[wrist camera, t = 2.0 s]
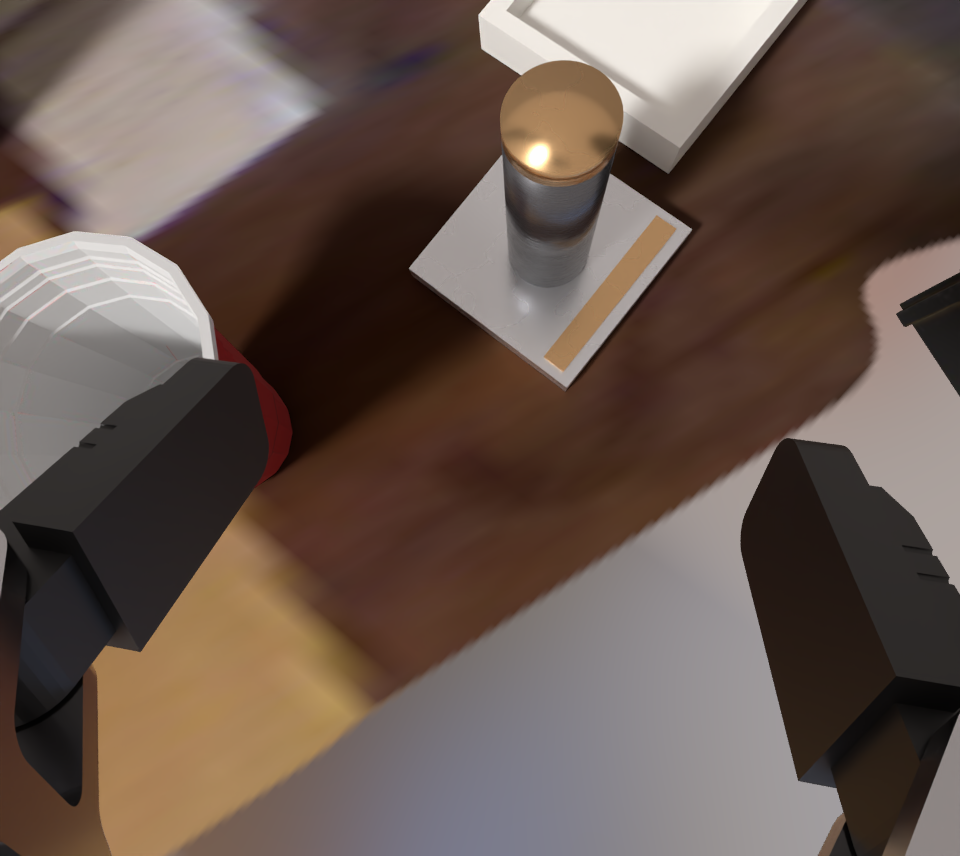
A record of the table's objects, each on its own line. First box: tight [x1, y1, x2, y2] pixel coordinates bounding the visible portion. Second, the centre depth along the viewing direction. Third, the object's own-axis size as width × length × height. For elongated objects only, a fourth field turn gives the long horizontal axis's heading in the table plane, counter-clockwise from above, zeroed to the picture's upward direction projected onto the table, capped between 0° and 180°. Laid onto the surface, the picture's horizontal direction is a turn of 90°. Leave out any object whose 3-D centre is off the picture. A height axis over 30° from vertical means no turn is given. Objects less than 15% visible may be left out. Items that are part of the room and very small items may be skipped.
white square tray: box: [478, 0, 807, 174], centre depth 30 cm, size 12×12×2 cm
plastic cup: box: [0, 231, 293, 510], centre depth 24 cm, size 11×11×12 cm
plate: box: [409, 155, 692, 391], centre depth 29 cm, size 10×10×1 cm
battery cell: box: [500, 60, 624, 288], centre depth 24 cm, size 4×4×10 cm
